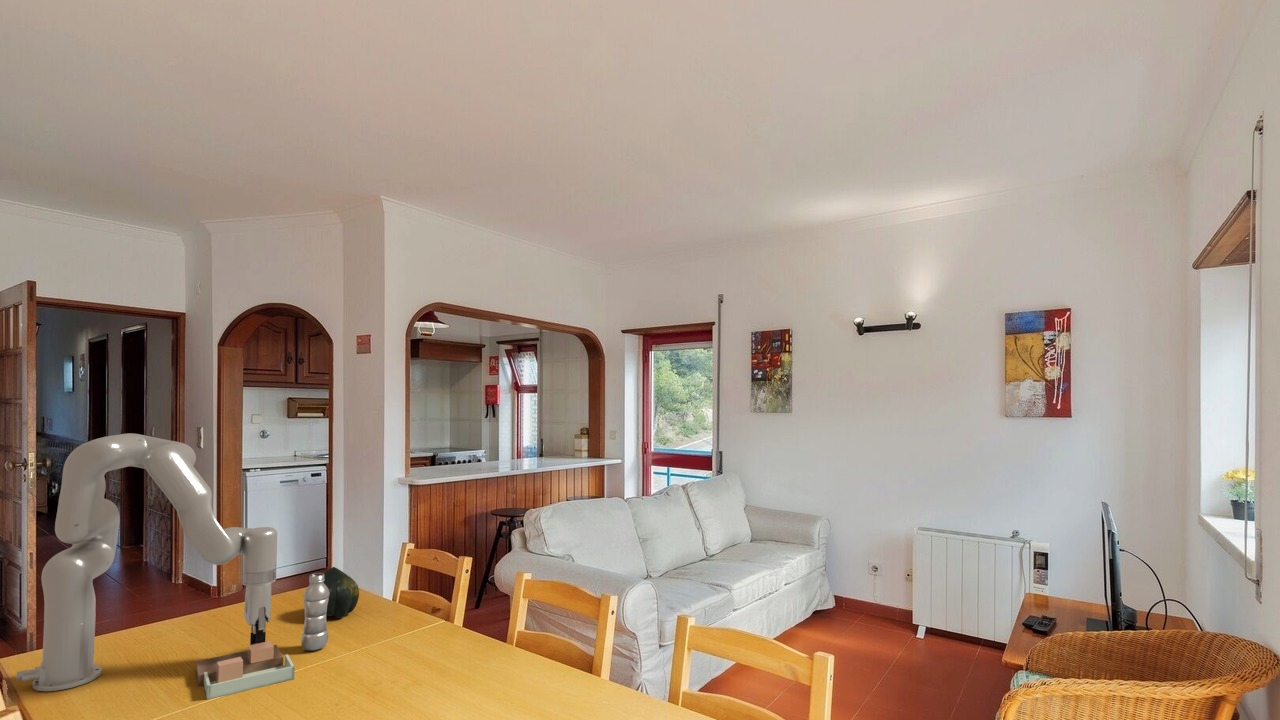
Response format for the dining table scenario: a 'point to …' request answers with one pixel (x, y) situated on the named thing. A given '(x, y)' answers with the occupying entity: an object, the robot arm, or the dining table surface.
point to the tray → (250, 680)
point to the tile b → (260, 652)
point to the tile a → (229, 669)
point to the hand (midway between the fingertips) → (257, 647)
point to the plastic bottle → (315, 613)
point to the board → (248, 667)
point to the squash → (340, 593)
